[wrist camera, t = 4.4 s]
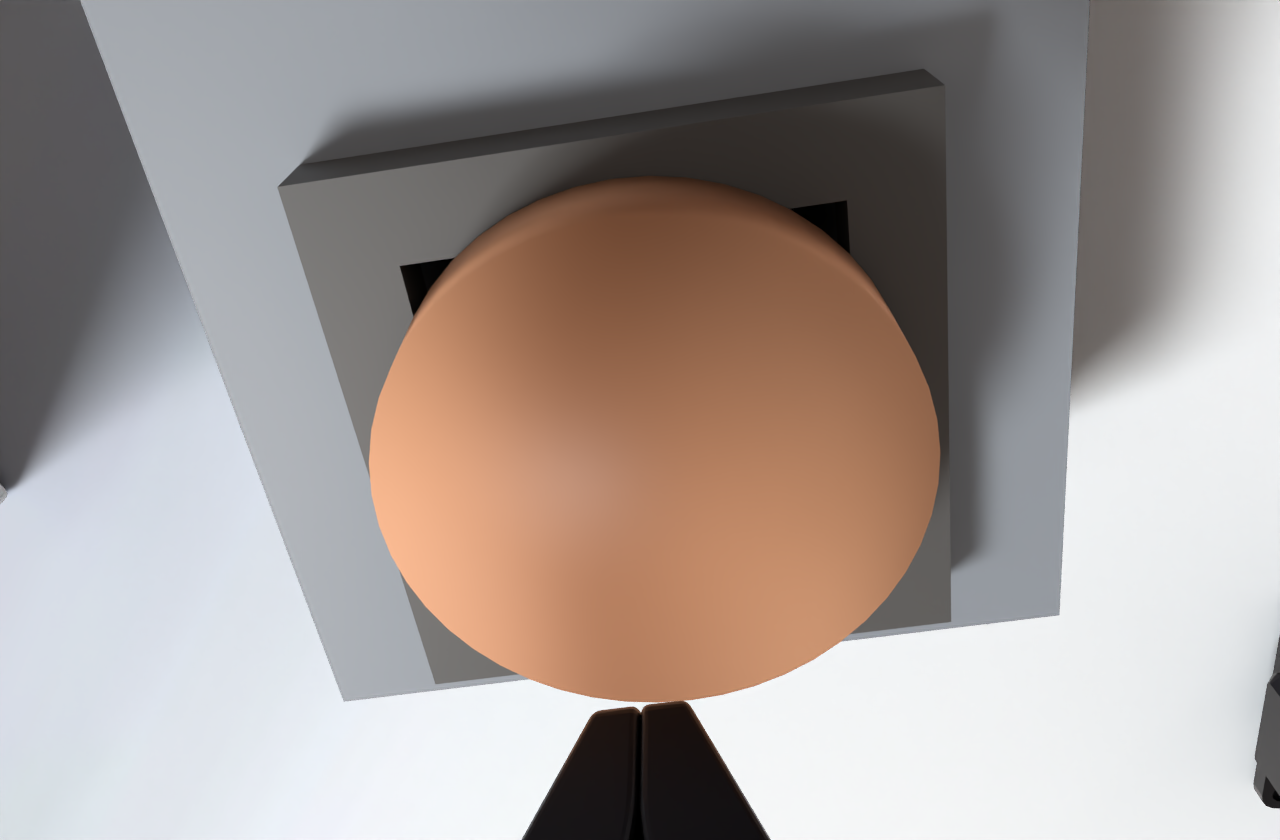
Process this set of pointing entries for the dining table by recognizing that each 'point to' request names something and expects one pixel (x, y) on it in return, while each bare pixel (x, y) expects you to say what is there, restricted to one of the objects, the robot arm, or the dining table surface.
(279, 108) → the socket block
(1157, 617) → the dining table surface
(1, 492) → the supplement box
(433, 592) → the pin
